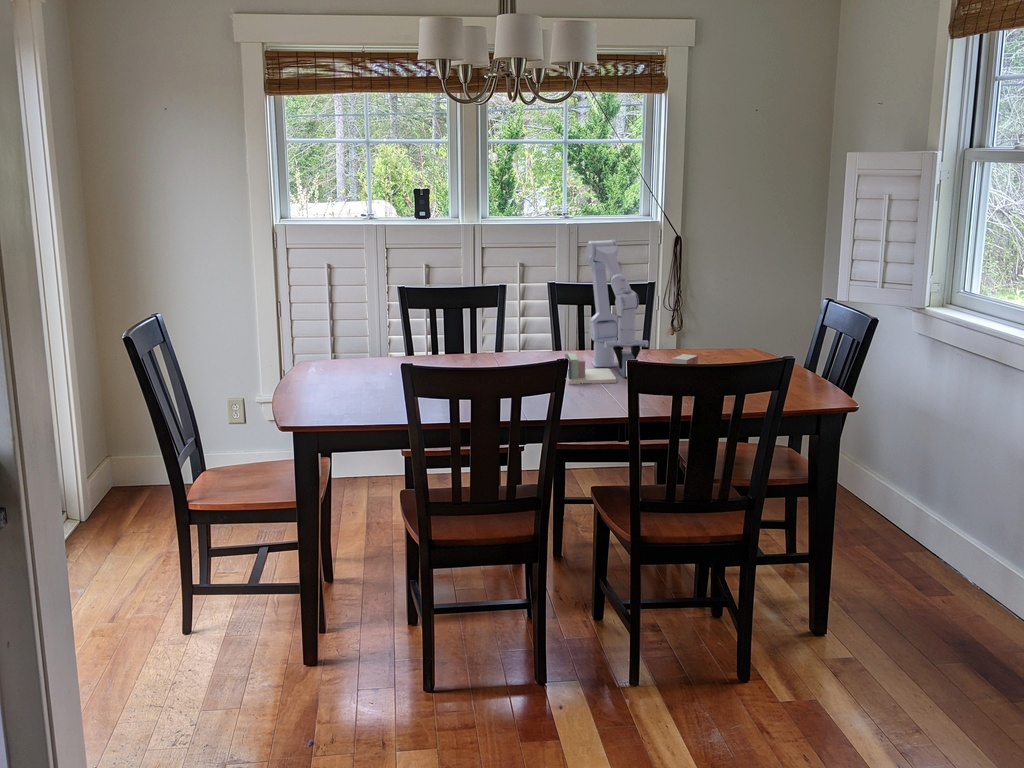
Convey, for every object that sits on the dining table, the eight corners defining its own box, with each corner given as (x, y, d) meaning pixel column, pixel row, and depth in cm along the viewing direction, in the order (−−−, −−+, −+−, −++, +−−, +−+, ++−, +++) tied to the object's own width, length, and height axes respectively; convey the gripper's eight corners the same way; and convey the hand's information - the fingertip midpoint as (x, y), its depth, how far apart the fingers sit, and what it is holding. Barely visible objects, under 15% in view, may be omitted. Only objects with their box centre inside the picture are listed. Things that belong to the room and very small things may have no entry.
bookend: (564, 371, 338) (564, 354, 336) (567, 371, 338) (567, 354, 336) (568, 379, 326) (568, 361, 325) (571, 379, 326) (571, 361, 325)
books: (567, 371, 337) (567, 353, 335) (581, 371, 337) (581, 353, 335) (571, 378, 327) (570, 359, 326) (585, 378, 327) (585, 359, 326)
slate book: (618, 370, 340) (618, 350, 338) (628, 370, 340) (629, 350, 338) (623, 377, 330) (623, 356, 328) (634, 376, 330) (634, 356, 329)
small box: (686, 392, 311) (686, 359, 308) (670, 390, 314) (670, 357, 312) (697, 387, 317) (698, 355, 315) (682, 385, 320) (682, 353, 318)
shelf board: (563, 373, 340) (563, 369, 340) (609, 371, 341) (609, 368, 340) (568, 384, 324) (568, 380, 324) (616, 382, 325) (616, 379, 325)
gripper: (607, 331, 327) (607, 371, 330) (650, 330, 328) (649, 369, 331) (603, 327, 334) (603, 366, 337) (646, 326, 335) (645, 365, 338)
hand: (626, 367), depth 335 cm, fingers closed on slate book, 3 cm apart
